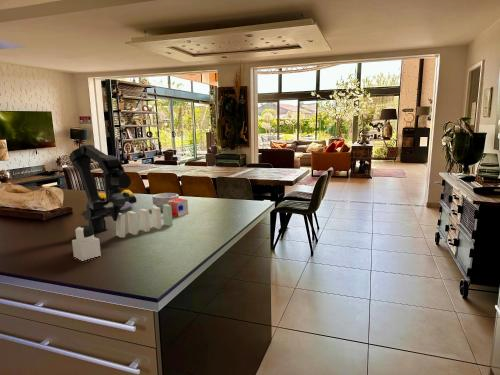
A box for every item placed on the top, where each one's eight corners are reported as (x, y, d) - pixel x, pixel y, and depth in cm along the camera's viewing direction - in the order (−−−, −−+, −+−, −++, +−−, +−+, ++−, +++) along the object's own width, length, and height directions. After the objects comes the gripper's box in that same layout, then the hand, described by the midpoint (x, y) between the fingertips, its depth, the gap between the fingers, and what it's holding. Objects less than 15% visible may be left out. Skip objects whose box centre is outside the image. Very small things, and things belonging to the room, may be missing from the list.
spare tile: (169, 226, 166) (167, 206, 165) (163, 224, 170) (162, 204, 168) (172, 225, 168) (171, 205, 166) (167, 223, 171) (166, 204, 170)
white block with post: (92, 252, 134) (89, 223, 132) (101, 256, 129) (98, 226, 127) (73, 258, 129) (69, 227, 126) (82, 262, 124) (78, 231, 122)
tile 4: (157, 229, 162) (156, 208, 161) (152, 227, 166) (151, 207, 164) (161, 228, 164) (160, 207, 162) (156, 226, 167) (155, 206, 165)
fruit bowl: (128, 214, 190) (127, 194, 188) (80, 215, 191) (78, 195, 189) (145, 203, 218) (143, 185, 216) (103, 203, 218) (101, 186, 216)
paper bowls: (182, 205, 210) (181, 192, 209) (174, 211, 196) (173, 197, 194) (158, 204, 212) (157, 192, 210) (149, 211, 197) (148, 197, 196)
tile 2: (133, 235, 154) (131, 213, 152) (129, 232, 158) (127, 211, 156) (137, 234, 156) (136, 212, 154) (133, 231, 159) (131, 210, 157)
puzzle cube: (177, 211, 194) (176, 198, 193) (188, 213, 190) (187, 199, 189) (167, 215, 188) (166, 201, 186) (178, 216, 184) (177, 202, 182)
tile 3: (146, 232, 158) (144, 211, 156) (141, 229, 162) (139, 209, 160) (150, 231, 160) (148, 210, 158) (145, 228, 163) (143, 208, 161)
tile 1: (120, 237, 150) (120, 215, 149) (116, 235, 154) (116, 213, 153) (125, 237, 152) (125, 215, 150) (120, 234, 155) (120, 213, 154)
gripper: (96, 191, 135) (100, 229, 138) (140, 185, 148) (143, 220, 150) (86, 188, 143) (90, 224, 146) (129, 182, 156) (132, 215, 159)
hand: (115, 220), depth 150 cm, fingers closed
